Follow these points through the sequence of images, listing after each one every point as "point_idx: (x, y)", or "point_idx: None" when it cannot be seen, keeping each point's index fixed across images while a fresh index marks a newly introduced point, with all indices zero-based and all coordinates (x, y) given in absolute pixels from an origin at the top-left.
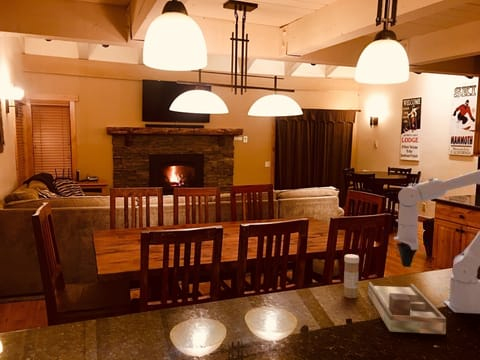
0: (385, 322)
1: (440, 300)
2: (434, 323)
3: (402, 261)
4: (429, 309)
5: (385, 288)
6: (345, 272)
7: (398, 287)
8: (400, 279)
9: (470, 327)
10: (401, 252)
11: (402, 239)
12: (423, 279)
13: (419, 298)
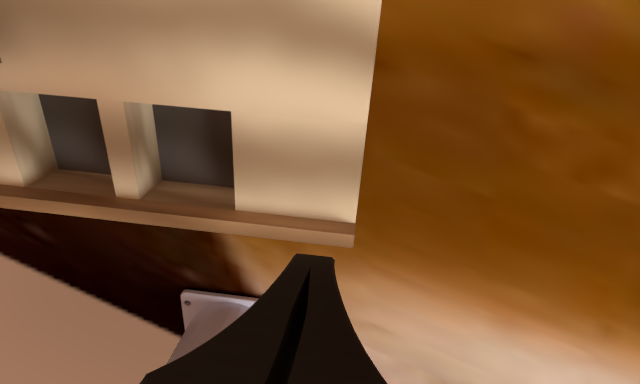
0: None
1: None
2: None
3: (291, 275)
4: (67, 189)
5: (330, 61)
6: None
7: (351, 156)
8: (629, 254)
9: (68, 275)
10: (249, 340)
11: None
12: (593, 354)
13: (203, 203)
